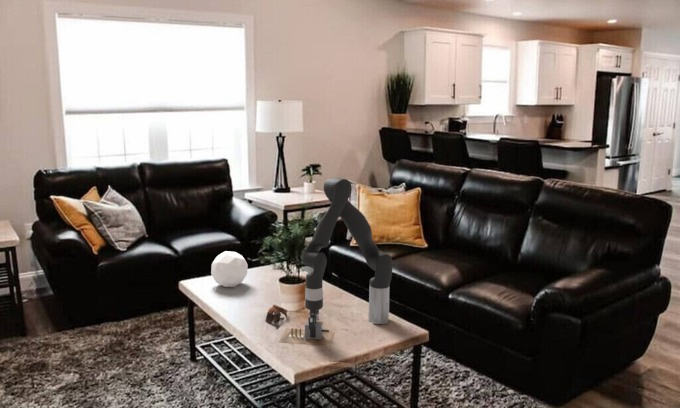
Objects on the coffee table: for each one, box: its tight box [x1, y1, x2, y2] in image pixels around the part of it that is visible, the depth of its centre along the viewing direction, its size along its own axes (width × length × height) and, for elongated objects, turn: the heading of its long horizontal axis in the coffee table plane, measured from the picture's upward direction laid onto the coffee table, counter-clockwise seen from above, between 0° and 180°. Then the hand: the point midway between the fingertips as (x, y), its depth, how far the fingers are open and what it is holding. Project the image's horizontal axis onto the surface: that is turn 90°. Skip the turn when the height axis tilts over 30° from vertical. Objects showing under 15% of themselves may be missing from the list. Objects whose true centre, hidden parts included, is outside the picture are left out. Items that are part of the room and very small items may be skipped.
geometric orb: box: [210, 250, 249, 288], centre depth 311 cm, size 19×20×20 cm
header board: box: [278, 327, 335, 347], centre depth 247 cm, size 22×14×5 cm, turn 83°
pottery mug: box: [265, 304, 288, 325], centre depth 266 cm, size 12×10×8 cm
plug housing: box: [304, 320, 330, 339], centre depth 245 cm, size 10×4×6 cm, turn 83°
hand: (313, 334), depth 246 cm, fingers closed on plug housing, 4 cm apart
